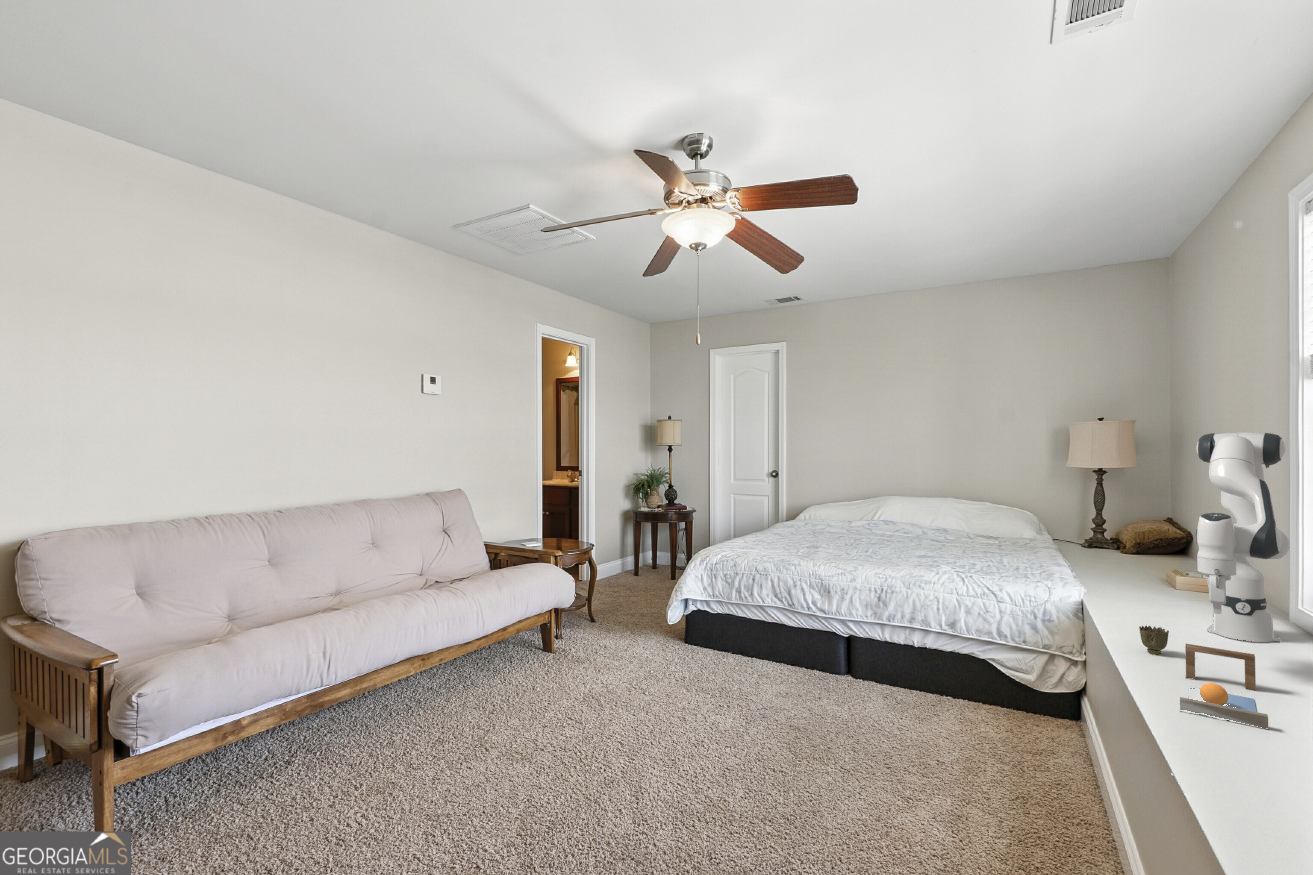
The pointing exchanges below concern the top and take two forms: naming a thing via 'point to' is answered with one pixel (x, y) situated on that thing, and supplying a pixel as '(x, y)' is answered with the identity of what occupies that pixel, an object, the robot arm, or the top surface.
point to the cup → (1154, 639)
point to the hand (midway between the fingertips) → (1217, 612)
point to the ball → (1214, 693)
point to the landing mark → (1240, 702)
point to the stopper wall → (1225, 712)
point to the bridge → (1249, 658)
